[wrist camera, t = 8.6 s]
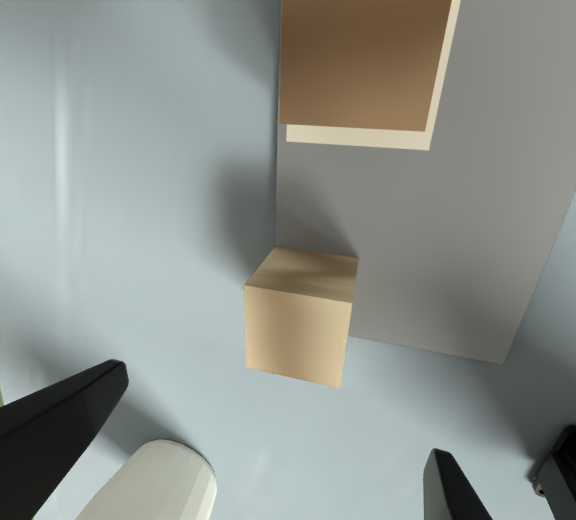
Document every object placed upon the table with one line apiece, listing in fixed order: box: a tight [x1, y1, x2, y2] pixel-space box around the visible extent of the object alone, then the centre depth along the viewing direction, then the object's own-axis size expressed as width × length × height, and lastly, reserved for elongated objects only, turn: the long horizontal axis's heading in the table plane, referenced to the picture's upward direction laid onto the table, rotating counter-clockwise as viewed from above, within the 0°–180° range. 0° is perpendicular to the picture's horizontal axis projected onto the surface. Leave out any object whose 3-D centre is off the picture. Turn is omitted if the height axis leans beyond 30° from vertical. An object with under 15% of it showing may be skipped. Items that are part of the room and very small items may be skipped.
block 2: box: [279, 0, 452, 132], centre depth 12 cm, size 5×5×5 cm
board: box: [275, 0, 576, 365], centre depth 16 cm, size 14×22×1 cm, turn 178°
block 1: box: [244, 247, 359, 388], centre depth 18 cm, size 5×5×5 cm
